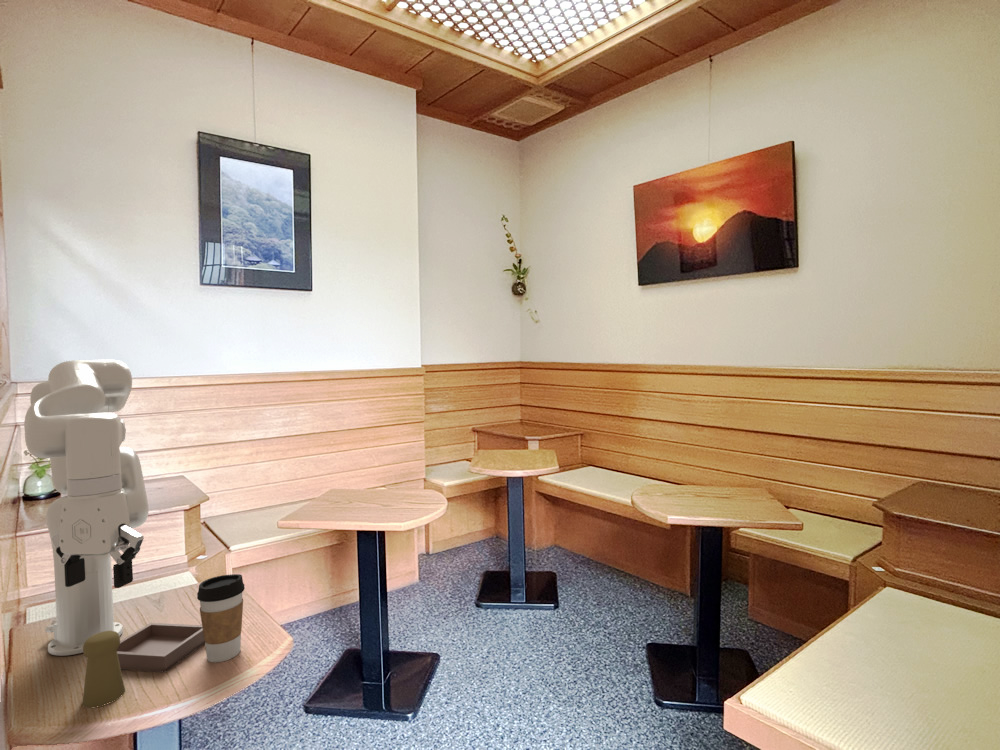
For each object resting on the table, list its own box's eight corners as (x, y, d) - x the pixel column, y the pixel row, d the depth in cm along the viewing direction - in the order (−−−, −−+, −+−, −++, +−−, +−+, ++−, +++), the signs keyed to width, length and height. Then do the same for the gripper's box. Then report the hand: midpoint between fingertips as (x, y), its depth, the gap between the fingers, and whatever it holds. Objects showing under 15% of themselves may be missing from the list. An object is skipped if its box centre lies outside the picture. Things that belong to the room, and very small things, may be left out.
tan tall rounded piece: (121, 682, 97) (118, 622, 96) (128, 695, 92) (126, 633, 92) (79, 698, 92) (76, 635, 92) (85, 712, 88) (82, 647, 88)
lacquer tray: (101, 668, 102) (100, 652, 102) (151, 636, 113) (151, 622, 113) (165, 672, 99) (164, 656, 99) (210, 639, 111) (209, 625, 111)
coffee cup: (227, 667, 100) (224, 589, 100) (189, 664, 102) (186, 587, 102) (256, 644, 108) (253, 572, 108) (220, 642, 110) (217, 570, 110)
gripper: (30, 491, 90) (35, 592, 90) (119, 490, 87) (124, 594, 87) (73, 482, 97) (77, 575, 97) (156, 481, 94) (160, 577, 94)
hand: (99, 584), depth 92 cm, fingers open, 9 cm apart
